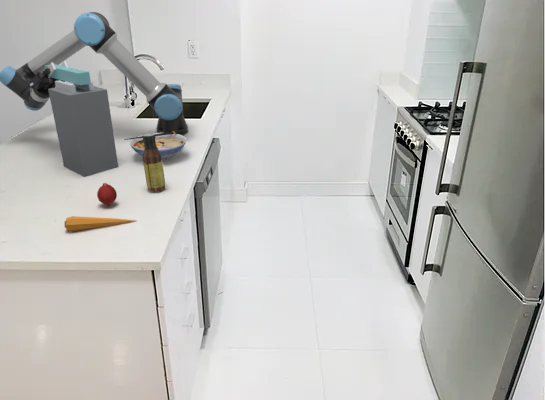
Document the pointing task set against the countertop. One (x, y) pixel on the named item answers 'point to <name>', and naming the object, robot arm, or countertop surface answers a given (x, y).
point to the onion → (106, 194)
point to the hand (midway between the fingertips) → (59, 65)
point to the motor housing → (84, 127)
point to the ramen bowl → (161, 143)
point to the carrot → (91, 223)
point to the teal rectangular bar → (71, 75)
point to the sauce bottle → (153, 164)
